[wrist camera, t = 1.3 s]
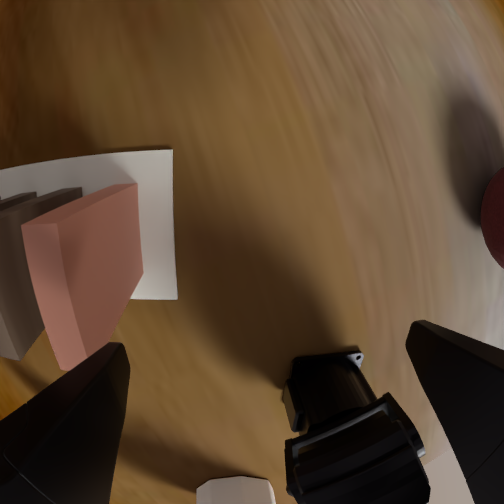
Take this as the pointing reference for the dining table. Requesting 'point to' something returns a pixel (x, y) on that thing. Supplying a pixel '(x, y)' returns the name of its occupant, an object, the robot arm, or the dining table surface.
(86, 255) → the domino
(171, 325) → the dining table surface
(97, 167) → the runner
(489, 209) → the decorative ball
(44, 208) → the domino
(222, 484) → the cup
